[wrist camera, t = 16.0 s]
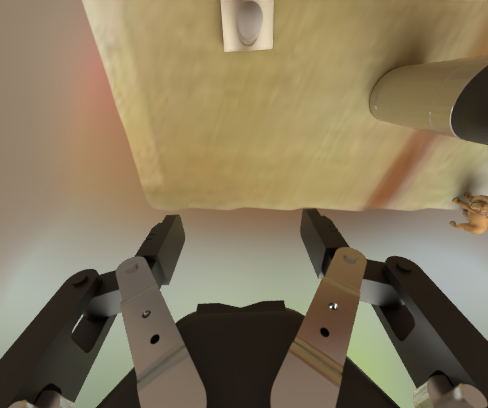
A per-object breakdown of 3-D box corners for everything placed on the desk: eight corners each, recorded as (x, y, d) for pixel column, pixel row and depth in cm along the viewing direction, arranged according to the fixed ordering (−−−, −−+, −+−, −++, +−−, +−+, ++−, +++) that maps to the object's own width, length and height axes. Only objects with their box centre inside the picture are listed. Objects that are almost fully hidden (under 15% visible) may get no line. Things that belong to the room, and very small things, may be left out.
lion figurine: (445, 190, 48) (484, 210, 41) (470, 180, 47) (515, 198, 39) (449, 229, 55) (483, 252, 47) (470, 221, 54) (509, 243, 46)
